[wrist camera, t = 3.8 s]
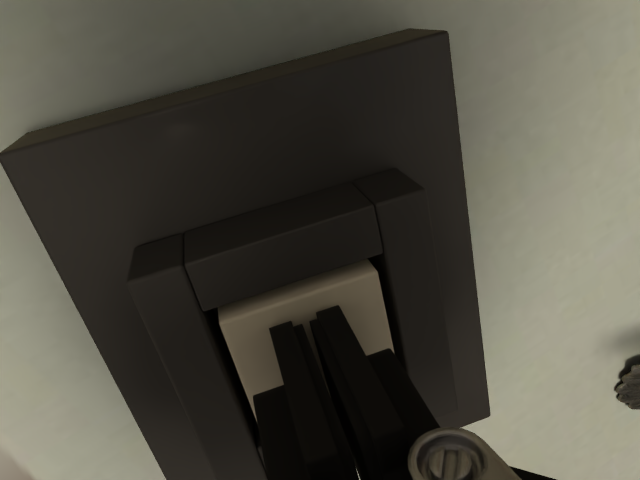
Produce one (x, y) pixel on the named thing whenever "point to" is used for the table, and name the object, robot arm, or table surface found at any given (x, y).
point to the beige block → (302, 320)
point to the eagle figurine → (630, 388)
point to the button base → (262, 231)
